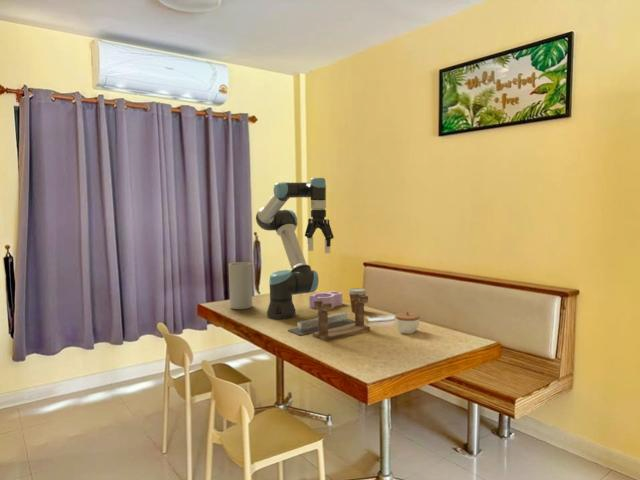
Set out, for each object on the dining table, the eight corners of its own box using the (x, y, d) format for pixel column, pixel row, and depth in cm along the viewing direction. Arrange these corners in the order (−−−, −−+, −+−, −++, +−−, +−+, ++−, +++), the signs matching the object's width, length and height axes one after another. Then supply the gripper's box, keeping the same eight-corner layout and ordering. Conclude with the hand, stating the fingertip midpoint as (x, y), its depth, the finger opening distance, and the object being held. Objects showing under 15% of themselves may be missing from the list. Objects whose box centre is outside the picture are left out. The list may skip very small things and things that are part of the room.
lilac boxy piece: (332, 301, 271) (332, 290, 271) (347, 305, 262) (347, 293, 261) (306, 307, 258) (306, 295, 258) (320, 311, 249) (320, 298, 248)
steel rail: (297, 330, 212) (297, 322, 211) (343, 319, 229) (343, 312, 228) (301, 331, 209) (301, 323, 209) (347, 321, 226) (347, 313, 226)
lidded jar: (419, 336, 203) (419, 315, 202) (394, 334, 205) (395, 314, 204) (419, 329, 213) (419, 309, 212) (395, 328, 215) (396, 308, 214)
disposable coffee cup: (352, 308, 253) (352, 287, 252) (368, 310, 249) (368, 288, 248) (346, 312, 245) (345, 290, 244) (362, 314, 241) (362, 292, 239)
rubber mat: (287, 330, 213) (287, 329, 213) (342, 318, 234) (342, 317, 234) (300, 335, 205) (300, 334, 205) (356, 322, 226) (356, 321, 226)
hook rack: (312, 336, 204) (312, 301, 203) (355, 325, 220) (355, 292, 219) (326, 341, 196) (326, 305, 195) (370, 330, 212) (370, 296, 211)
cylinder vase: (226, 306, 261) (224, 263, 259) (244, 303, 269) (243, 261, 267) (237, 310, 252) (235, 266, 249) (256, 307, 260) (255, 263, 257)
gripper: (297, 209, 233) (298, 250, 235) (328, 209, 213) (328, 254, 215) (309, 208, 238) (309, 249, 240) (340, 209, 218) (341, 253, 220)
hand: (318, 251), depth 228 cm, fingers open, 13 cm apart
